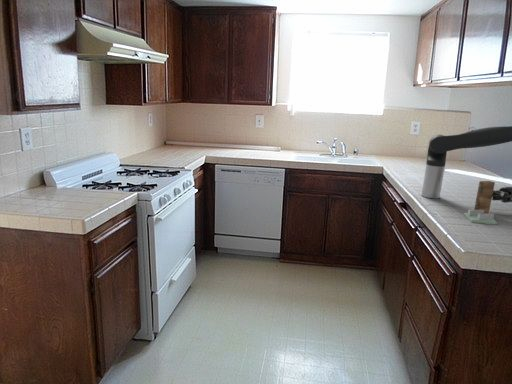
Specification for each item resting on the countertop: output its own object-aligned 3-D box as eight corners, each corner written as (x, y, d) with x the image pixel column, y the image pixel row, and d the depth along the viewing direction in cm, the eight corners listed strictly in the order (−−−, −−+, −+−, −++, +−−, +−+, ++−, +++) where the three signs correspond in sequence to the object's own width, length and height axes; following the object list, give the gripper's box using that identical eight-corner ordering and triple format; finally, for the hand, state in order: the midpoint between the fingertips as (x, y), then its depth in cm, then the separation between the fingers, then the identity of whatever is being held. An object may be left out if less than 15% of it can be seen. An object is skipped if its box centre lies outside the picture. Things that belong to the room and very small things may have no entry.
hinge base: (463, 214, 185) (465, 207, 185) (488, 217, 183) (489, 209, 183) (470, 222, 175) (472, 213, 174) (496, 224, 173) (498, 216, 172)
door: (472, 212, 191) (478, 181, 187) (483, 211, 193) (489, 180, 189) (477, 213, 188) (483, 182, 184) (488, 213, 190) (494, 182, 187)
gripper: (500, 183, 200) (474, 184, 195) (526, 190, 186) (500, 191, 181) (497, 198, 201) (471, 199, 196) (523, 206, 188) (496, 207, 183)
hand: (485, 195), depth 189 cm, fingers open, 8 cm apart
